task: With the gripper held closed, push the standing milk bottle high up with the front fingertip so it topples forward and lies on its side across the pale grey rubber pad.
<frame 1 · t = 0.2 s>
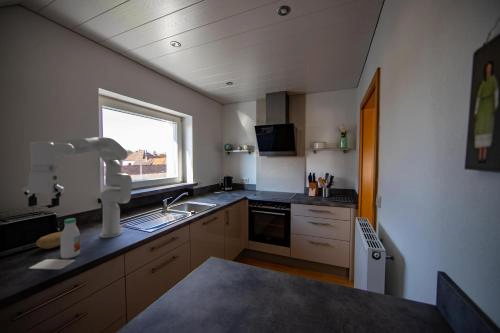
hand: (44, 206, 89), 31 cm above the countertop, tool pointing down, fingers open, 9 cm apart
milk bottle: (70, 255, 105), on the countertop
potato: (53, 247, 114), on the countertop
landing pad: (53, 264, 96), on the countertop
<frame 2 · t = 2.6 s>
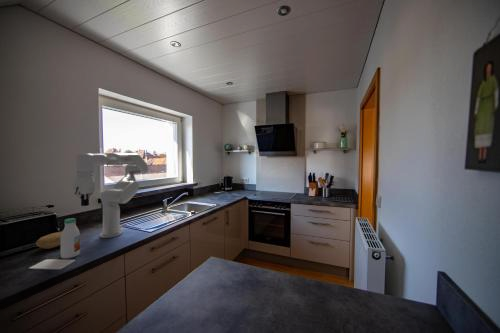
hand: (85, 205, 114), 25 cm above the countertop, tool pointing down, fingers closed
nothing on the countertop moved.
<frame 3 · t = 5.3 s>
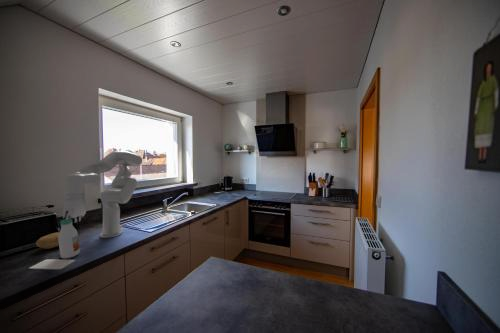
hand: (75, 229, 108), 13 cm above the countertop, tool pointing down, fingers closed
milk bottle: (70, 255, 105), on the countertop, touching gripper
everything else where it was.
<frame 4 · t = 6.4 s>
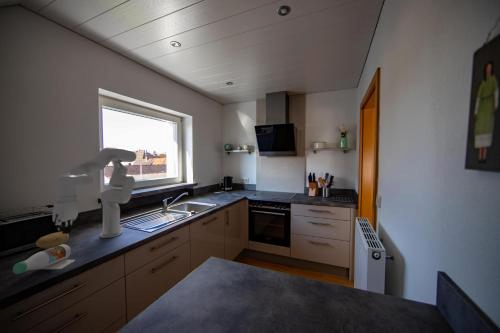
hand: (66, 233, 103), 13 cm above the countertop, tool pointing down, fingers closed
milk bottle: (64, 251, 102), point 4 cm above the countertop, touching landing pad
everything else where it was.
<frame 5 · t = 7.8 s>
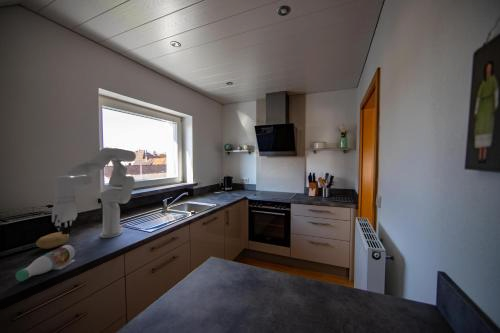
hand: (66, 233, 102), 13 cm above the countertop, tool pointing down, fingers closed
milk bottle: (69, 251, 101), point 4 cm above the countertop, touching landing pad
everything else where it was.
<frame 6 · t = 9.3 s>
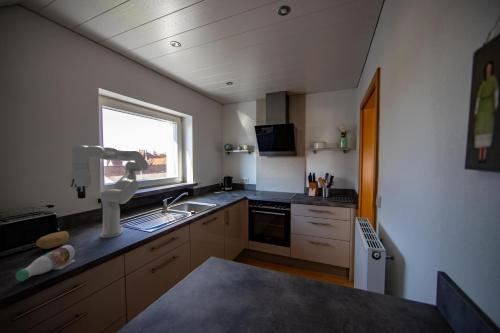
hand: (81, 198, 113), 29 cm above the countertop, tool pointing down, fingers closed
nothing on the countertop moved.
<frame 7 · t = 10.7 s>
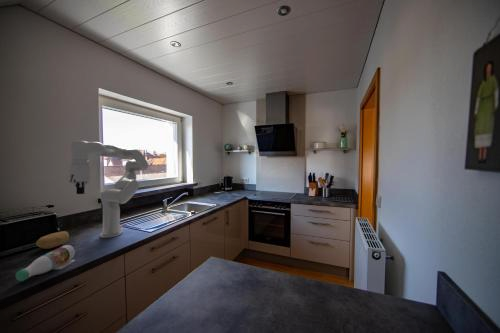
hand: (80, 193, 113), 32 cm above the countertop, tool pointing down, fingers closed
nothing on the countertop moved.
at the end: milk bottle tilted 93°; milk bottle inside the target area (5.4 cm from its centre), point 4.3 cm above the countertop; milk bottle touching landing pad, countertop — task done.
